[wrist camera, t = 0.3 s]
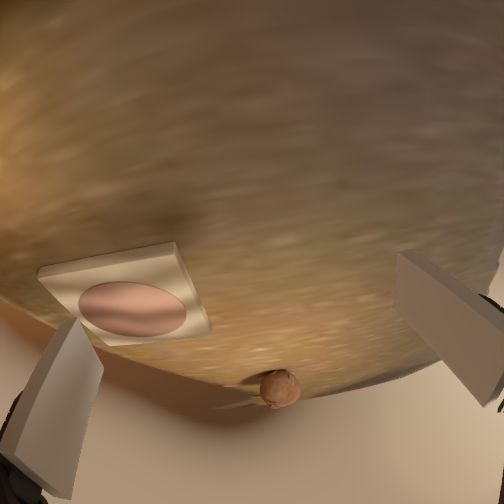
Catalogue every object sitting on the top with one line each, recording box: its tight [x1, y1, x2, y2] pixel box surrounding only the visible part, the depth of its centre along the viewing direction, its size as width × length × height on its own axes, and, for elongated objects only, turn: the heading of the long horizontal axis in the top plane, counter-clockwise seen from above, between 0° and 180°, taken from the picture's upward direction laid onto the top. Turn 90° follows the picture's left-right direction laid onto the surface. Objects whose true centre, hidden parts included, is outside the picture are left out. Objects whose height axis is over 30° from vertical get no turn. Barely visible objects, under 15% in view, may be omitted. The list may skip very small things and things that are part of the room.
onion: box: [260, 370, 300, 409], centre depth 62 cm, size 9×9×10 cm
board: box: [37, 241, 213, 346], centre depth 33 cm, size 18×16×2 cm
